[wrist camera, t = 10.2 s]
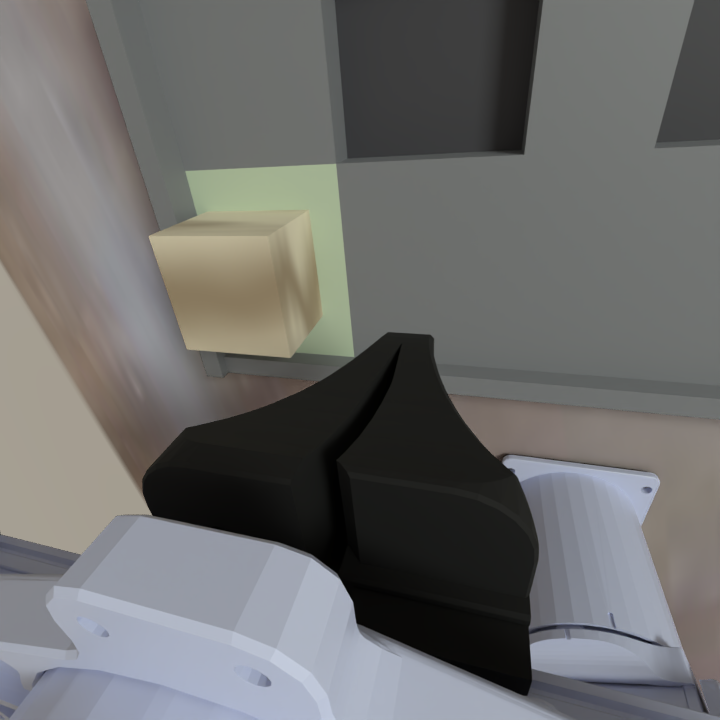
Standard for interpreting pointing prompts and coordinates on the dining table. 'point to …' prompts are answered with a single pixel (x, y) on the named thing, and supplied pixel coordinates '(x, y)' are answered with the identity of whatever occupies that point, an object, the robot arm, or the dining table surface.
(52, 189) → the dining table surface
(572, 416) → the dining table surface
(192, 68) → the board
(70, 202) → the dining table surface
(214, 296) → the birch block
